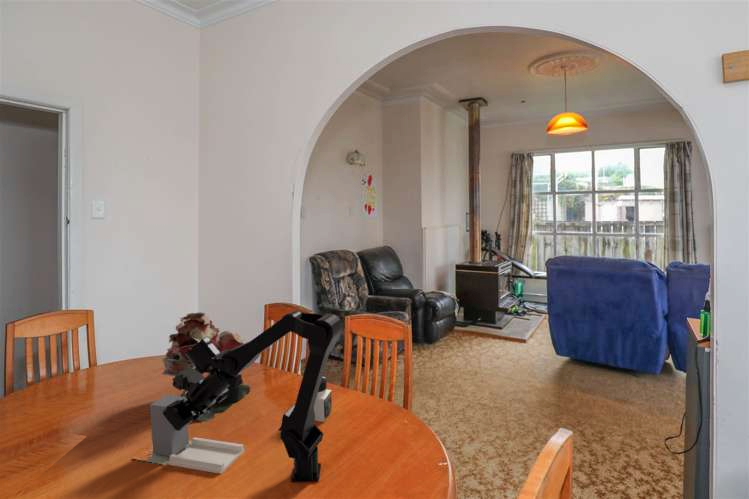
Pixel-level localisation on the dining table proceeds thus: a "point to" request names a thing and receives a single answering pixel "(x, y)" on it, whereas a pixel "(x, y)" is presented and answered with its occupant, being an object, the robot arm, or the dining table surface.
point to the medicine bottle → (323, 402)
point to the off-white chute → (208, 455)
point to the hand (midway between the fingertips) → (180, 421)
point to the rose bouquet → (178, 361)
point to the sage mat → (162, 456)
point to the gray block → (166, 429)
